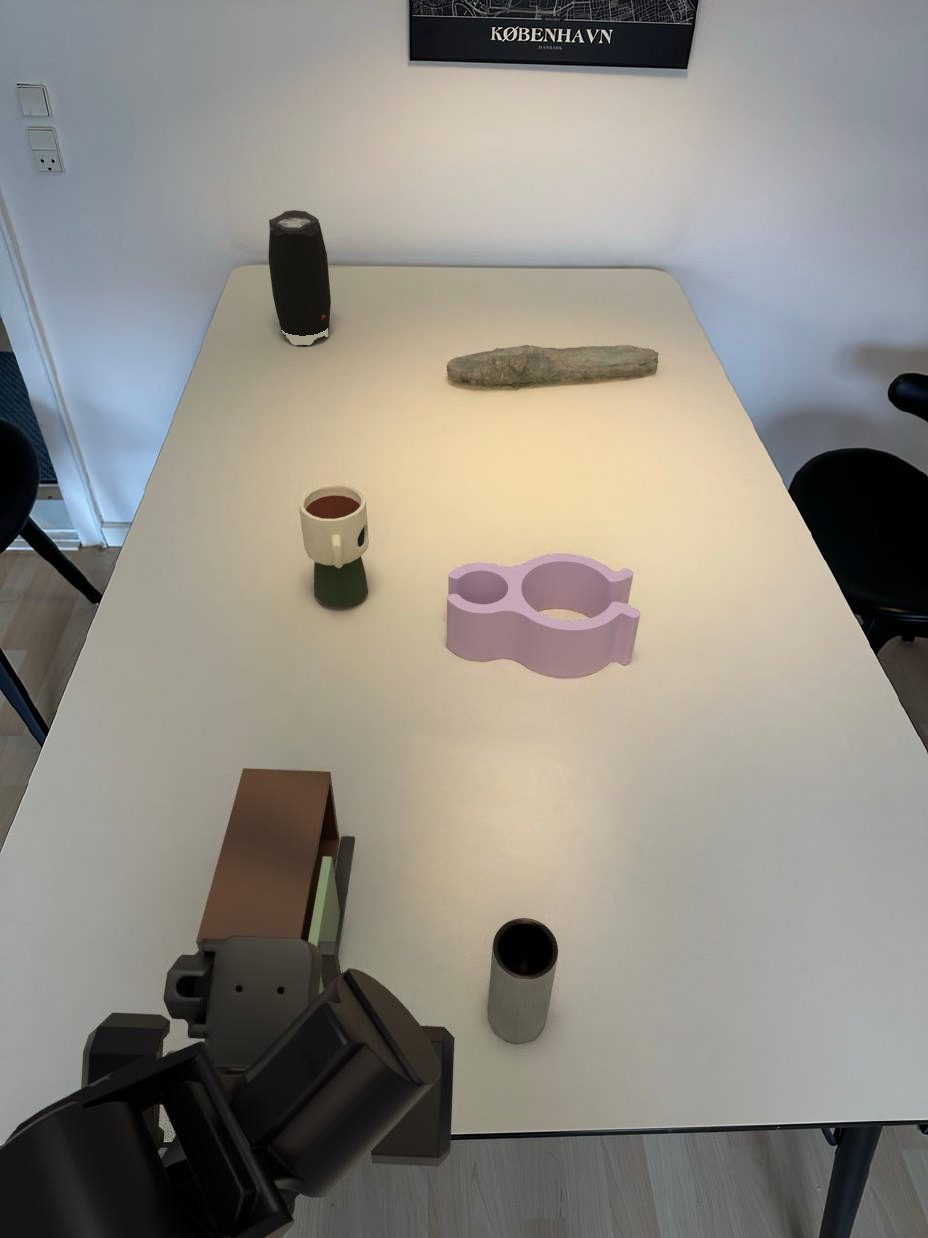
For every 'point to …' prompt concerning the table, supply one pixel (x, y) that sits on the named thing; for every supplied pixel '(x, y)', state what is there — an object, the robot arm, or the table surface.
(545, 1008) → the grey hollow tube
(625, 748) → the table surface
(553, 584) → the clip
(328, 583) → the character mug
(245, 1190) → the robot arm
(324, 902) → the sliding door
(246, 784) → the cupboard
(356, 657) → the table surface
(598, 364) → the elongated rock
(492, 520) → the table surface
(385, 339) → the table surface
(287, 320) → the portable speaker
